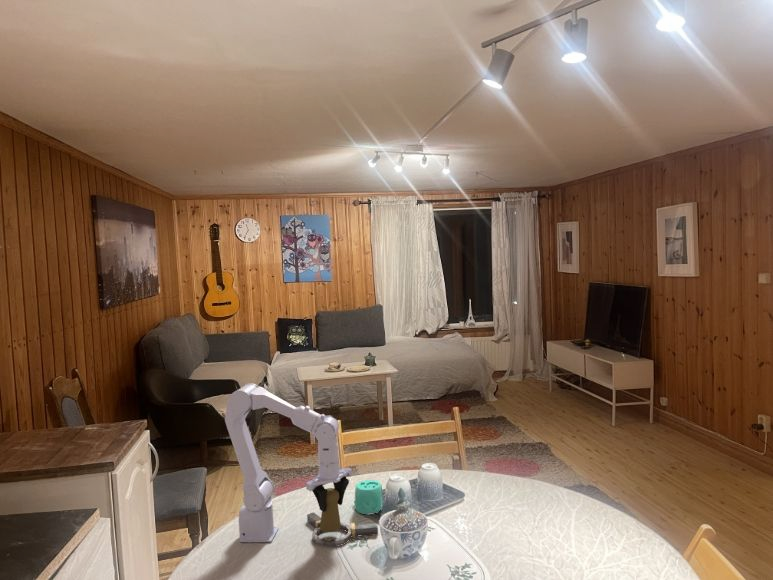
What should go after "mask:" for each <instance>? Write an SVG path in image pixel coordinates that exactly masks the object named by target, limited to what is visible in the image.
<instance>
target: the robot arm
mask: <svg viewBox="0 0 773 580" xmlns="http://www.w3.org/2000/svg"><path fill="white" fill-rule="evenodd" d="M263 408H266V409H268V410H270V411H273V412H275V413H278V414H280V415H282V416H283V417H284V416H285V417H287V418H289V419H290V420H291V422H292V424H293V425H294V426H296V427H298V428H300V429H301V430H304V431H306V432H309V434H312V435H314V437H315V439H316V440H317V454H318V455H317V457H318V473H319V474H318V475H317V476H315V477H313V479H311V480H309V481H307V482H305V484H306V485H305V487H306V488H305V489H306V490H307V491H309V492H312V493H313V495H314V496H315V499H316V502H317V504H318V507H319V511H321V512H322V511H323V512H325V511H326V496H327V491H328V490H326V489H327V488H325V485H327V484H331V483H333V488H334V489H337V490H338V492H339V500H338V501H337V502H338V506H342V505H343V500H344V496H345V493H346V490H347V487H348V486H349V484H350V480H349V479H348V478H347V477H351V476H353V470H352V469H351V468H350V467H346V468H341V469H340V464H339V463H340V459H339V443H338V435H337V433H338V432H339V428H340V425H339V421H338V420H337V419H336V418H334V417H333V416H332V415H326V414H324V413H322V414H320V413H318V412H316V411H314V410H313V409H311V407H310V406H309V405H306V406H304V405H300V406H294V405H292V404H291V403H290V402H287V401H285V400H284V399H282V398H280V397H279V396H277V395H274V394H273V393H271V392H270V391H268V390H267V389H266V388H265V387H262V386H259V385H257V384H255V383H252V382H249V383H246V384H244V385H242V387H240V388H239V389H237V390H235V391H233V392H232V393H231V394H230V395H229V397H228V399H227V400H226V410H225V415H224V422H225V425H226V429H227V431H228V435H229V438H230V440H231V442H232V446H233V451H234V453H235V455H236V458H237V461H238V464H239V467H240V470H241V473H242V477H243V482H242V491H243V498H242V499H243V505H242V506H241V507H240V509H239V512H238V528H239V529H238V531H239V540H238V542H239V543H272V541H273V540H274V539H275V538H274V537H275V535H276V534H277V532H278V530H279V526H275V525H274V524H275V523H274V510H273V509H274V508H273V505H274V504H273V501H272V495H273V494H274V493H275V484H274V482H273V481H272V480H271V479H270V478H269V476H268V473H267V472H266V471H265V470H263V469H262V467H261V464H260V460H259V458H258V457H259V456H258V454H257V452H256V449H255V446H254V443H253V442H254V441H253V439H252V436H251V434H250V431H249V427H248V425H247V421H246V418H247V416H248V415H249V412H250V411H251V410H252V411H254V410H259V409H263Z"/></svg>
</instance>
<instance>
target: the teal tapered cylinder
mask: <svg viewBox="0 0 773 580" xmlns="http://www.w3.org/2000/svg"><path fill="white" fill-rule="evenodd" d="M354 490H355V491H354V504H355V505H354V506H355V510H356V511H357V513H358V514H360V513H361V514H360V515H363V514H368V513H376V512H378V511H380V510H381V511H382V510H383V485H382V483H381V482H379V481H378V480H374V479H366V480H365V479H364V480H362V481H359V482H357V483H356V484H355V489H354ZM381 511H380V512H381Z"/></svg>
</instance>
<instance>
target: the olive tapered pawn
mask: <svg viewBox="0 0 773 580" xmlns="http://www.w3.org/2000/svg"><path fill="white" fill-rule="evenodd" d="M325 489H326V490H328V491H327V496H326V511H325V512H323V511H321V516H320V517H321V523H320V529H321V530H322V531H323V532H324V533H335V532H338V531H340V528H341V523H342V522H341V517H340V510H339V504H338V502H337V501H338V500H339V492H338V490H337V489H334V487H327V488H325Z"/></svg>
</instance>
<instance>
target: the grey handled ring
mask: <svg viewBox="0 0 773 580" xmlns="http://www.w3.org/2000/svg"><path fill="white" fill-rule="evenodd" d="M306 519H307V523H308V524H310V525H311V526H313V527H314V529H313V532H312V541H313V542H314V544H315V545H317V546H319V547H323V548H336V547H339V546H338V545H340V546H342V545H341V544H343V545H345V544H347V543H348V542H349V541H351V540H352V537H356V536H357V537H359V536H358V535H367V536H371V535H370V534H378V535H379V526H378V523H366V524H357V525H356V523H355V522H352V523H350V525H349V524H347V523H343V522H340V523H341V528H340V529H341V530H342V531H344V530H346V531H347V532H348V533H347V532H346V531H345V532H346V534H345V535H343V536H342V537H338V538H336V539H324V538H321V537H319V535H320V534H322V533H323V532H324V531H322V530H321V529H320V523H321V516H319V515H318V514H316V513H315V512H310V513H308V514H306ZM340 529H339V530H340ZM351 536H352V537H351ZM350 539H351V540H350ZM348 540H349V541H348ZM347 541H348V542H347ZM346 542H347V543H346ZM344 543H345V544H344Z"/></svg>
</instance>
